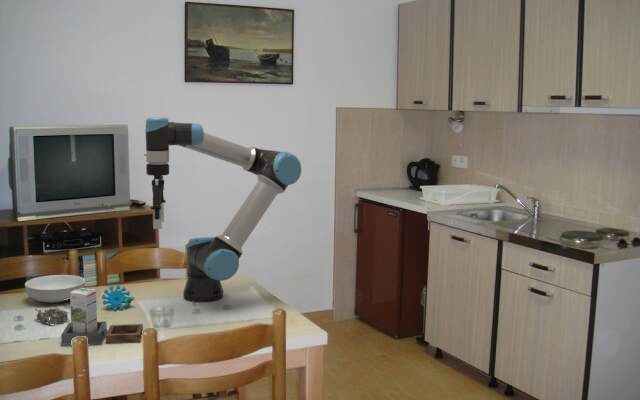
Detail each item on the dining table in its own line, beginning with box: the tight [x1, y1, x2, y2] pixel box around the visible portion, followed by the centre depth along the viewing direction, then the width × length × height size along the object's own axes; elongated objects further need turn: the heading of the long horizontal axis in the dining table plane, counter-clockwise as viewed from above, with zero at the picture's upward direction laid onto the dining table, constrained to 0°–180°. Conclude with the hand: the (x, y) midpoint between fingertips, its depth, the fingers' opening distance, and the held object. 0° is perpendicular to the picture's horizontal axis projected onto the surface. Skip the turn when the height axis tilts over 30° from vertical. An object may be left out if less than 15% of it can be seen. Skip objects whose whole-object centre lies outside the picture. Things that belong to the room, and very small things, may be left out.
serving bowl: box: [24, 274, 86, 304], centre depth 245 cm, size 21×21×7 cm
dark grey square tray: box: [60, 320, 108, 347], centre depth 205 cm, size 12×12×4 cm
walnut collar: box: [105, 323, 144, 344], centre depth 207 cm, size 10×10×2 cm
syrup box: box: [69, 287, 98, 333], centre depth 204 cm, size 6×6×14 cm
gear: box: [101, 285, 135, 312], centre depth 238 cm, size 11×6×10 cm
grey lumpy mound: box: [34, 307, 69, 326], centre depth 221 cm, size 11×8×4 cm
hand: (158, 225), depth 227 cm, fingers open, 13 cm apart
